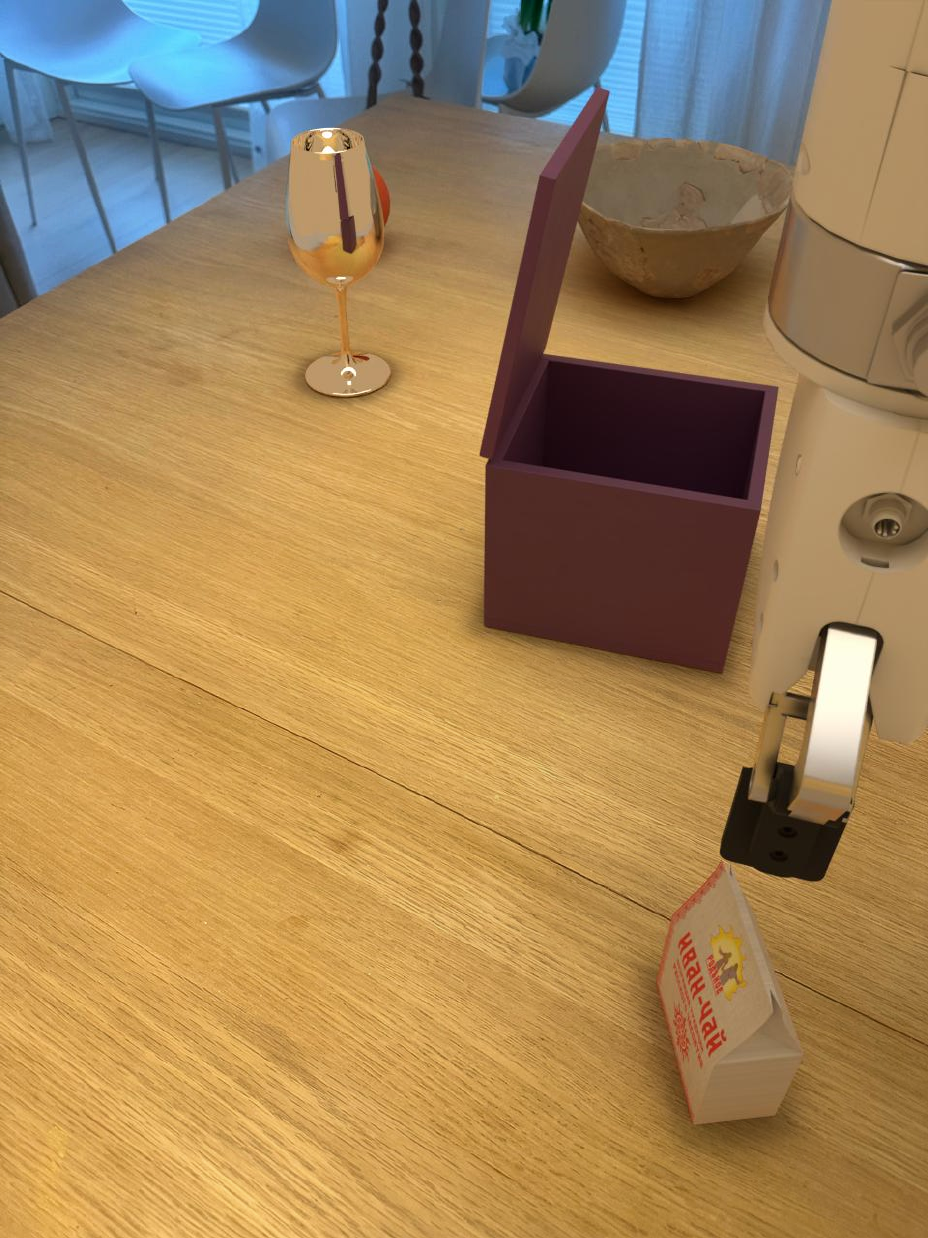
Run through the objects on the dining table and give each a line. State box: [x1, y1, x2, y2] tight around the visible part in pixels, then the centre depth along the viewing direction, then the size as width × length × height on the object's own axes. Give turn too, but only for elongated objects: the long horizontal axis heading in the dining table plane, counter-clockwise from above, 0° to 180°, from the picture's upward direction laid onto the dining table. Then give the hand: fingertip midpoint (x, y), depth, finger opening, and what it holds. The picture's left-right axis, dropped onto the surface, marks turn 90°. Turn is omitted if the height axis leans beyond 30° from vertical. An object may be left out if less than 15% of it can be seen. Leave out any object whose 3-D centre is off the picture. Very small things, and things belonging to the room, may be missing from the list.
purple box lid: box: [479, 86, 611, 460], centre depth 59 cm, size 16×14×1 cm
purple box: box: [483, 353, 780, 674], centre depth 68 cm, size 16×14×13 cm
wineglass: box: [285, 127, 392, 398], centre depth 86 cm, size 8×8×20 cm
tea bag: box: [655, 859, 805, 1126], centre depth 45 cm, size 4×7×10 cm, turn 6°
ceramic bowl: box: [577, 137, 794, 299], centre depth 104 cm, size 22×23×10 cm
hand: (782, 750), depth 37 cm, fingers open, 9 cm apart
